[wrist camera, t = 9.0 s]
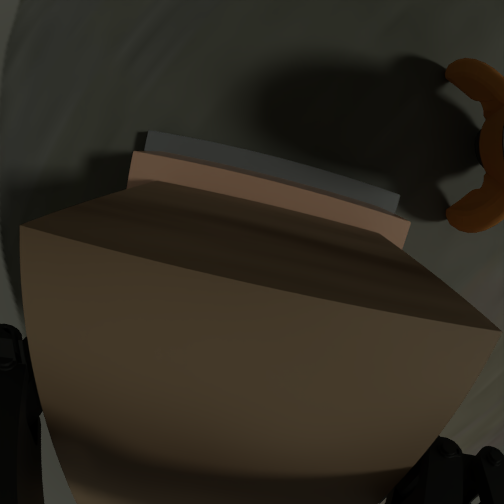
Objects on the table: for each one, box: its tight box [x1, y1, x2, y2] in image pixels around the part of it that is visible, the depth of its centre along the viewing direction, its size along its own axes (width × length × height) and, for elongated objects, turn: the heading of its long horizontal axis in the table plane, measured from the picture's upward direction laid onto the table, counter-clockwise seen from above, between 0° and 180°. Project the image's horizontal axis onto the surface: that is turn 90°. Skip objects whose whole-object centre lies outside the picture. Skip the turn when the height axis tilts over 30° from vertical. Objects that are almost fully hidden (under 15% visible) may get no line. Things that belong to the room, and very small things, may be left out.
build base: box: [127, 130, 411, 250], centre depth 17 cm, size 14×14×5 cm
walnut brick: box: [20, 181, 502, 504], centre depth 10 cm, size 10×9×8 cm
